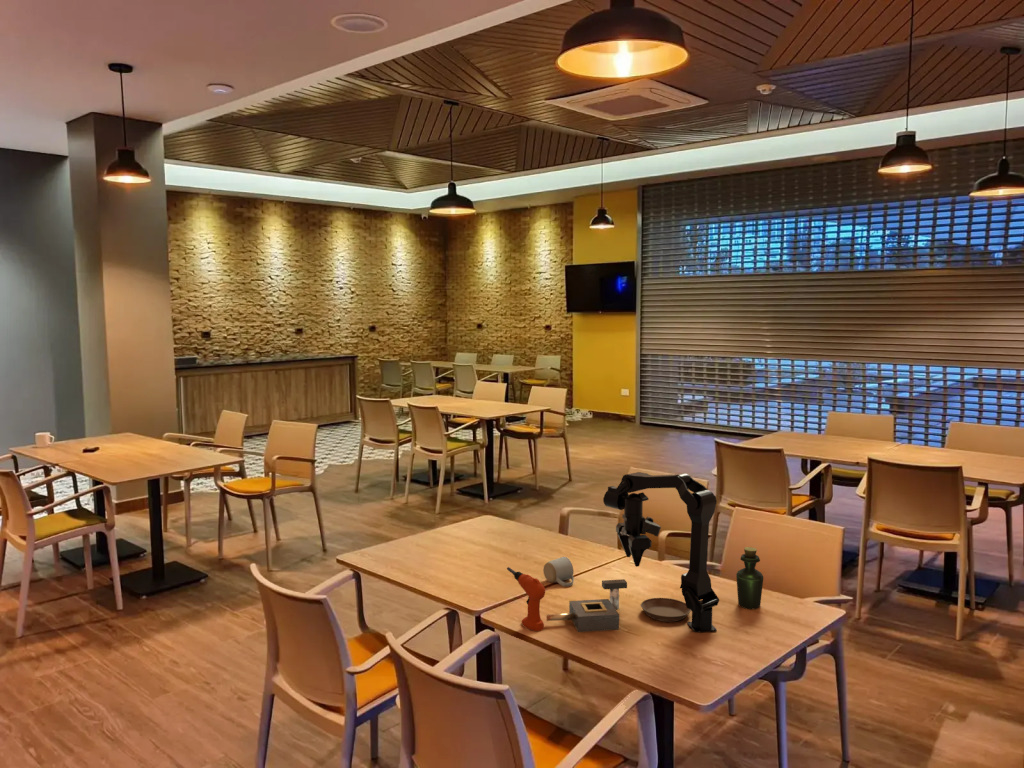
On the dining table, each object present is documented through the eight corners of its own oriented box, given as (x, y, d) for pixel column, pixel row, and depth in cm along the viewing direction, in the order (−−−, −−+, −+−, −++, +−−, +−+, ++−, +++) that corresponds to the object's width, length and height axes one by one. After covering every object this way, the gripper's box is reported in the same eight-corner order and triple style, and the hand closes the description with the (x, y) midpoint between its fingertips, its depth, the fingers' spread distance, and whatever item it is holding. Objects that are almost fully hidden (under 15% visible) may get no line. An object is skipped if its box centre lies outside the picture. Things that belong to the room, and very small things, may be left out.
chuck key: (626, 609, 226) (627, 582, 226) (604, 610, 225) (604, 583, 225) (624, 605, 229) (624, 579, 229) (601, 606, 228) (601, 580, 228)
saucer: (691, 608, 227) (691, 599, 227) (690, 627, 213) (690, 618, 213) (643, 603, 231) (643, 595, 231) (638, 622, 217) (638, 613, 217)
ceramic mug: (541, 579, 252) (541, 558, 252) (560, 575, 257) (560, 553, 256) (560, 589, 244) (561, 567, 243) (579, 584, 248) (580, 562, 248)
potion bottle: (753, 612, 223) (754, 554, 222) (730, 604, 229) (731, 548, 228) (768, 606, 228) (769, 549, 227) (745, 598, 235) (746, 543, 233)
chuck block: (619, 629, 211) (619, 613, 211) (550, 633, 209) (550, 617, 208) (608, 613, 223) (608, 598, 223) (543, 617, 220) (543, 601, 220)
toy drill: (511, 603, 228) (515, 557, 225) (547, 631, 212) (551, 583, 210) (498, 606, 225) (501, 560, 222) (533, 635, 210) (537, 586, 207)
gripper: (668, 519, 222) (667, 570, 223) (648, 504, 240) (648, 551, 241) (632, 521, 220) (631, 571, 222) (615, 505, 239) (615, 552, 240)
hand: (632, 561), depth 231 cm, fingers open, 9 cm apart
